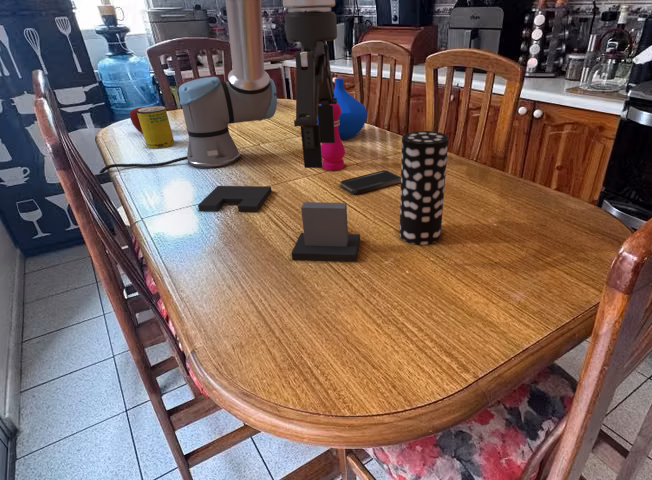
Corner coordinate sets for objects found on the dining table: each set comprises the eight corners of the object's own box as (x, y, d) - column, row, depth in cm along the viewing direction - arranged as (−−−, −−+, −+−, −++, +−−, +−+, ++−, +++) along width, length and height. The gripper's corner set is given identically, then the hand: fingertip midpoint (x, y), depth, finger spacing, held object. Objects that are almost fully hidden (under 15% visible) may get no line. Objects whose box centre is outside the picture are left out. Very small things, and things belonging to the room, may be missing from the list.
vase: (376, 132, 152) (376, 76, 142) (348, 146, 139) (346, 85, 129) (336, 126, 161) (333, 73, 151) (305, 138, 147) (300, 81, 138)
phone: (338, 181, 108) (385, 169, 115) (338, 185, 108) (385, 173, 115) (354, 191, 102) (403, 178, 109) (354, 195, 103) (403, 182, 110)
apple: (135, 132, 160) (127, 105, 155) (162, 129, 163) (155, 102, 158) (135, 138, 152) (126, 110, 147) (163, 134, 156) (156, 107, 151)
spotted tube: (396, 226, 88) (398, 132, 78) (435, 224, 89) (442, 130, 79) (403, 246, 81) (406, 144, 71) (445, 243, 82) (454, 142, 71)
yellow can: (179, 141, 148) (171, 106, 142) (165, 149, 140) (155, 112, 134) (156, 140, 149) (147, 106, 143) (141, 148, 142) (130, 112, 136)
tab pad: (292, 259, 78) (286, 214, 73) (305, 230, 88) (300, 188, 83) (355, 261, 77) (354, 215, 72) (361, 232, 87) (360, 189, 82)
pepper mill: (342, 171, 118) (338, 98, 107) (317, 170, 119) (311, 97, 109) (348, 163, 124) (345, 92, 113) (325, 162, 125) (319, 92, 115)
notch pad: (199, 211, 97) (197, 205, 96) (218, 191, 107) (217, 185, 107) (257, 212, 96) (256, 206, 95) (271, 191, 106) (271, 186, 105)
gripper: (320, 11, 49) (331, 180, 60) (346, 8, 71) (351, 134, 81) (258, 12, 50) (280, 180, 61) (302, 10, 71) (313, 134, 82)
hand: (321, 154), depth 71 cm, fingers open, 13 cm apart
